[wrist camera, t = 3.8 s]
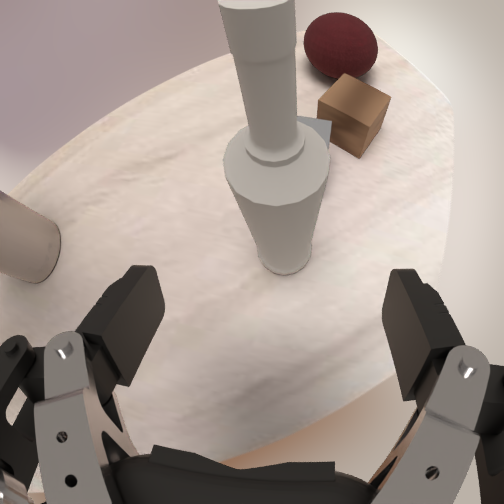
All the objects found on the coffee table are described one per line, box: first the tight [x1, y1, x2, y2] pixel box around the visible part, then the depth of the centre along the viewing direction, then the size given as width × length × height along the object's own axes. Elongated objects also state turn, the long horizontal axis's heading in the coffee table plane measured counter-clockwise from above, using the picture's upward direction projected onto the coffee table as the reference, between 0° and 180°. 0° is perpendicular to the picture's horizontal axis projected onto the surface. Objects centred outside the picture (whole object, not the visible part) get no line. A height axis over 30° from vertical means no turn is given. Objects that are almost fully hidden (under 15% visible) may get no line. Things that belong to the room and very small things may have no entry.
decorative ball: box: [304, 12, 378, 79], centre depth 31 cm, size 10×10×10 cm
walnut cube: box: [317, 73, 391, 159], centre depth 30 cm, size 6×6×6 cm
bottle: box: [218, 0, 330, 275], centre depth 17 cm, size 5×5×25 cm
